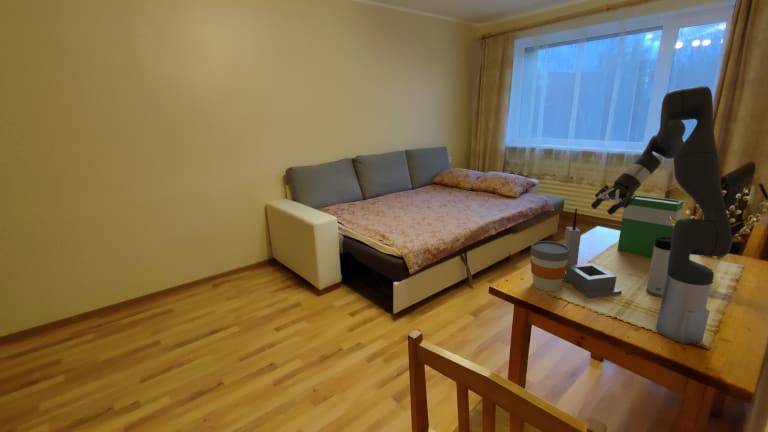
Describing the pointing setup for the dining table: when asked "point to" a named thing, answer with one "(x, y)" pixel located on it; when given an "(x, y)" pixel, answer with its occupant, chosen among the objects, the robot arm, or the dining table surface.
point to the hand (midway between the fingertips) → (600, 210)
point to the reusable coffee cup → (548, 264)
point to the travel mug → (659, 266)
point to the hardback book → (647, 223)
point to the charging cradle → (591, 280)
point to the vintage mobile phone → (573, 242)
